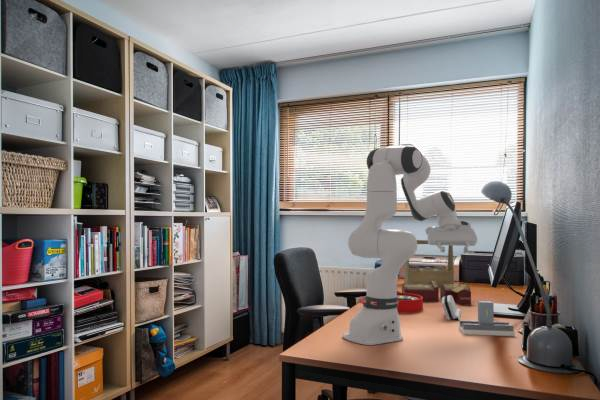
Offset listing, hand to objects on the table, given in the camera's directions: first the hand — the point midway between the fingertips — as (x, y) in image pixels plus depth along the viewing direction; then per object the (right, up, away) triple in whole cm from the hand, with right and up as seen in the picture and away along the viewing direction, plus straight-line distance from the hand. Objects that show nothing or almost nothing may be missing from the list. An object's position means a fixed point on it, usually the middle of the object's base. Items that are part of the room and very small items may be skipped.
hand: (454, 251), depth 183 cm
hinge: (+2, -30, +10) cm, 32 cm away
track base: (+6, -29, -16) cm, 34 cm away
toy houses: (+1, -31, +45) cm, 55 cm away
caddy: (+18, -33, +97) cm, 104 cm away
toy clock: (-16, -31, +26) cm, 43 cm away
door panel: (+6, -27, -16) cm, 33 cm away
